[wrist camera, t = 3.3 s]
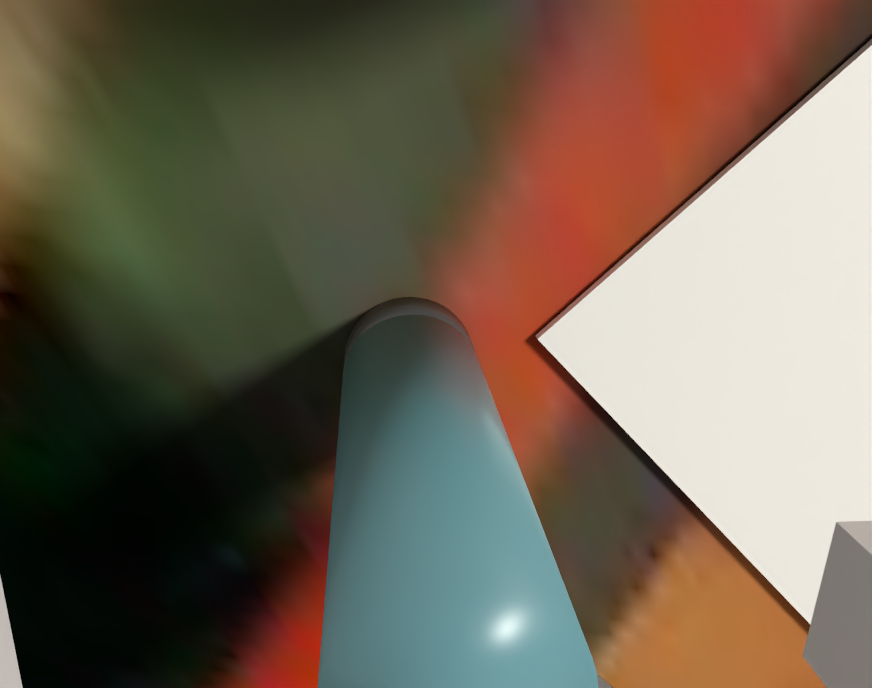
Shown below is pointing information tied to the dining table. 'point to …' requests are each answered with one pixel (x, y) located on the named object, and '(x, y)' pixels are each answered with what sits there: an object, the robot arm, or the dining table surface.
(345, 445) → the teal rounded cylinder
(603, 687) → the word tile
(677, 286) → the paper
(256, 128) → the dining table surface
